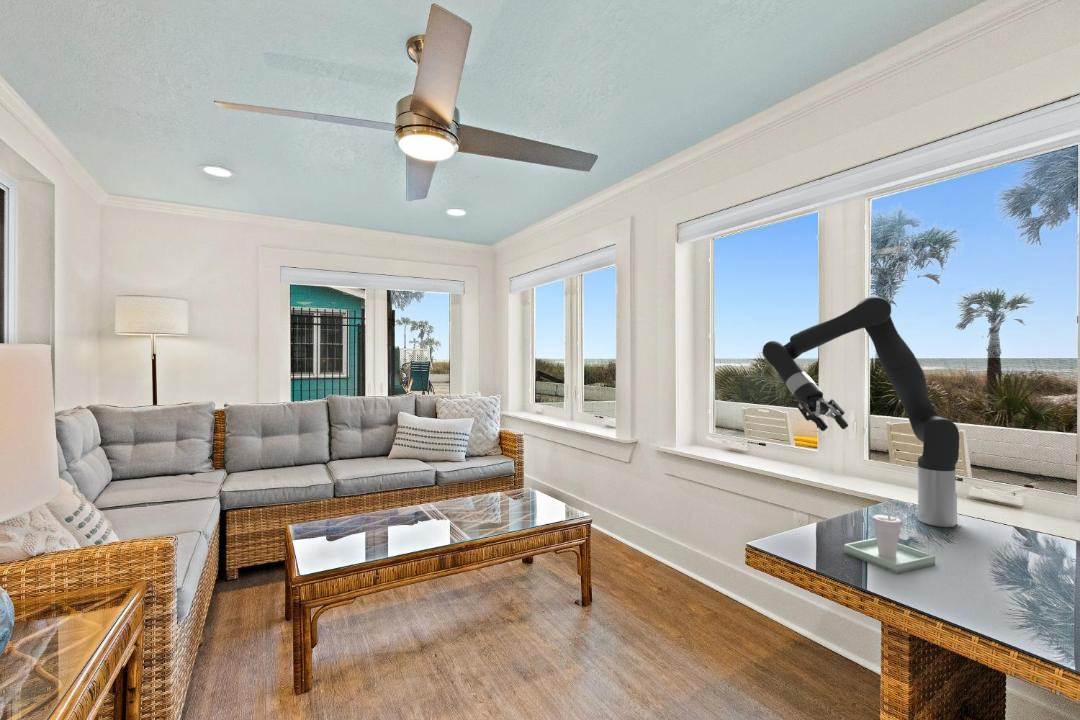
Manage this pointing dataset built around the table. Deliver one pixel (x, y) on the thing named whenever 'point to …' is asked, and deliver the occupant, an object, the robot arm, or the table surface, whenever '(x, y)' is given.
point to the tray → (901, 563)
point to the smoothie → (887, 533)
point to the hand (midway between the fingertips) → (835, 428)
